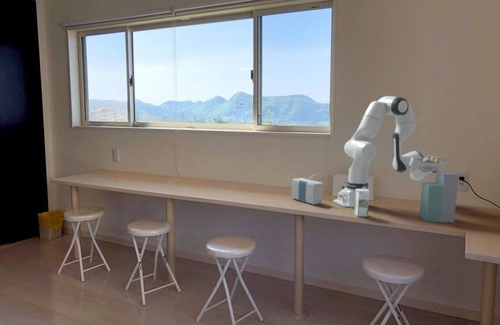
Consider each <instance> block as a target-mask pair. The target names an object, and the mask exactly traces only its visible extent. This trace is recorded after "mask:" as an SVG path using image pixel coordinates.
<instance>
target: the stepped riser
mask: <svg viewBox="0 0 500 325" xmlns="http://www.w3.org/2000/svg"><path fill="white" fill-rule="evenodd" d="M435 173H436V174H435V182H431V181H422V182H421V190H420V191H421V192H420V194H421V195H420V204H419V205H420V206H419V218H421V219H422V220H423V221H424V222H426V221H430V222H429V223H447V222H450V223H451V224H452V223H453V224H454V223H455V216H456V207H457V206H456V205H457V192H458V183H459V174H457V173H455V172H451V171H441V170H440V171H436V172H435Z"/></svg>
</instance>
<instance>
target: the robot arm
mask: <svg viewBox="0 0 500 325" xmlns="http://www.w3.org/2000/svg"><path fill="white" fill-rule="evenodd" d="M386 115H387V116H394V118H395V131H394V132H393V134H392V162H391V164H392V168H393V169H394V171H395V172H397V173H404V172H406V171H408V170H410V173H409V176H410V178H411V180H412V181H419V182H420V181H421V180H423V179H424V178H425V177H427V175H429V174H433V173H436V171H440V172H441V170H443V169H444V168H446V167H447V165H448V160H447V159H446V162H445V164H440V163H436V162H433V161H430V156H428V155H427V156H426V157H424V155H423V154H422V153H421V152H420V151H417V150H413V151H409V152H408V153H407V152H406V153H405V154H402V144H403V142H404V141H405V140H406V139H407V138H408V137H409V136H411V135H412V134H413V133H414V132H415V130H416V128H417V123H416V122H417V121H416V117H415V114H414V110H413V107H412V104H410V103H409V102H408V100H407V99H406V98H405V97H402V96H393V95H386V96H385V95H381V96H379V97H378V98H376V100H373V101H372V102H370V104H369V105H368V107H367V109H366V110H365V112H364V114H363V117H362V119H361V122H360V124H359V126H358V128H357V129H356V131H355V132H354V133H353V135H352V136H351V138H350V139H349V140H348V141H347V142H346V143H345V144H344V147H343V151H344V153H345V154H346V155H347V156H349V157H350V158H353V161H352V164H351V166H350V167H349V169H348V181H345V183H344V184H345V188H343V189H341V190H340V191H339V192H338V193H337V198H335V199H333V202H334V203H336V204H338V205H340V206H342V207H344V208H354V209H355V198H356V189H368V190H369V182H368V180H369V169H370V166H371V164H372V160H373V159H374V158H375V157H376V156H377V153H378V152H377V151H378V149H377V147H376V145H375V144H373V143H372V142H371V140H373V138H375V137H376V136H377V134H378V132H379V130H380V129H381V126H382V123H383V120H384V118H385V116H386Z"/></svg>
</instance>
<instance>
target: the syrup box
mask: <svg viewBox="0 0 500 325" xmlns="http://www.w3.org/2000/svg"><path fill="white" fill-rule="evenodd" d="M369 207H370V190H369V188H368V189H356V198H355V208H354V213H353V214H354V215H355V216H356V217H357V218H359V217H360V218H368V217H369Z"/></svg>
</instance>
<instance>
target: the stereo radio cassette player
mask: <svg viewBox="0 0 500 325" xmlns="http://www.w3.org/2000/svg"><path fill="white" fill-rule="evenodd" d="M320 173H321V171H319V172H317V173H315V174H313V175H311V176H309V177H307V178H304V177H300V178H292V183H291V197H292V199H294V200H297V201H301V202H303V203H307V204H311V205H313V206H315V205H321V203H322V202H323V199H322V198H323V187H324V183H323V182H321V181H318V180H317V181H316V180H311V178H312V177H314V176H317V175H319V174H320Z"/></svg>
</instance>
